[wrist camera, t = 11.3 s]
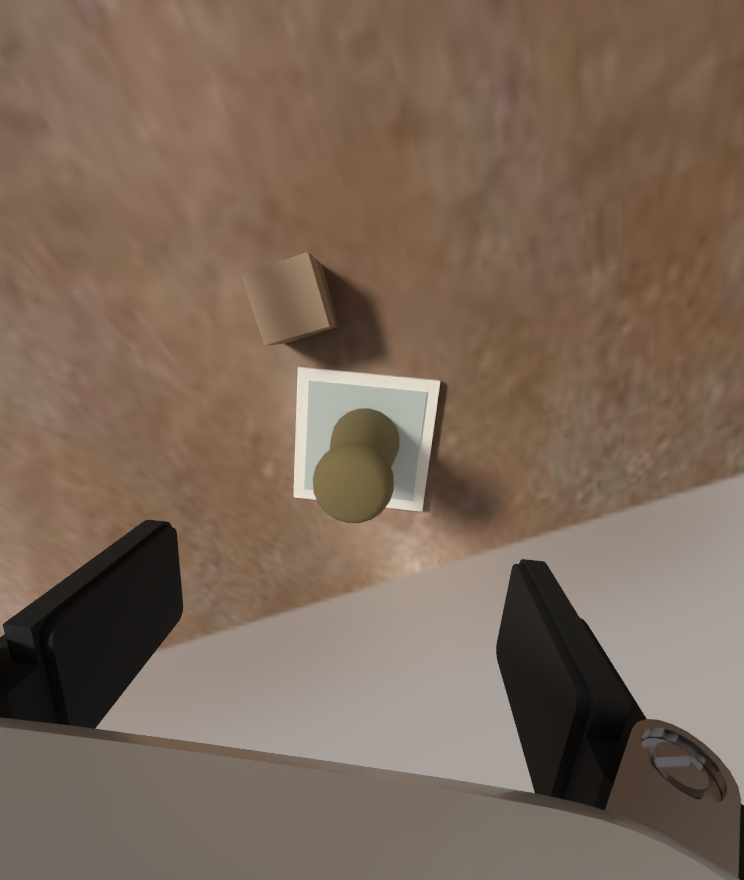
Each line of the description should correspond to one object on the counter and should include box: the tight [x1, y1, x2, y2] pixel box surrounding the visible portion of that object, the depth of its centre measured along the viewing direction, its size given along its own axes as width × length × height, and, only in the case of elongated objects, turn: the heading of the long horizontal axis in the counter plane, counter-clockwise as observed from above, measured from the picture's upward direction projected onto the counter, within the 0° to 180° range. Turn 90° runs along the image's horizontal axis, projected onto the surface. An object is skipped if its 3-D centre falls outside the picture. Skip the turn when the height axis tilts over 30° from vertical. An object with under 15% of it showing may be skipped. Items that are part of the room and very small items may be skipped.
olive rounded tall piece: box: [313, 408, 399, 523], centre depth 28 cm, size 6×6×11 cm
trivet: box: [294, 366, 440, 511], centre depth 34 cm, size 12×12×1 cm
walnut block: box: [241, 252, 340, 345], centre depth 29 cm, size 5×5×5 cm
